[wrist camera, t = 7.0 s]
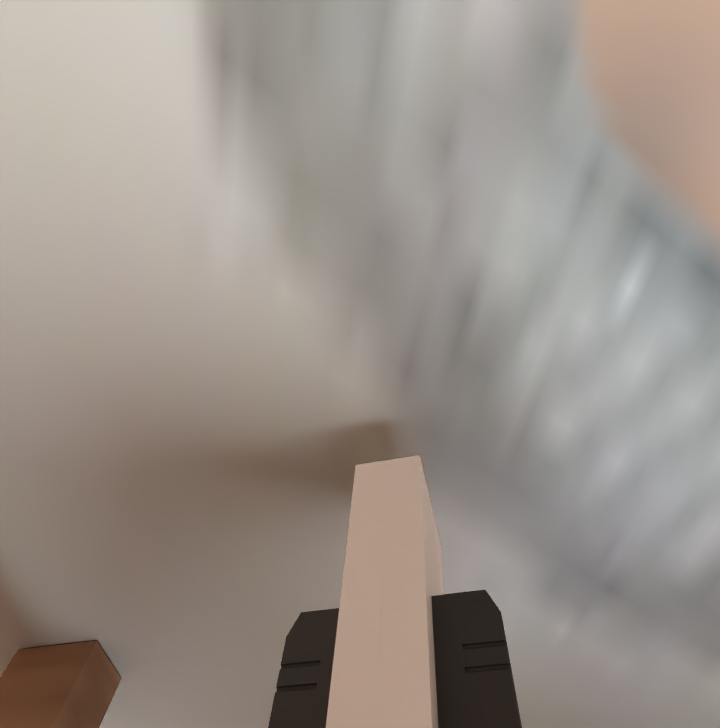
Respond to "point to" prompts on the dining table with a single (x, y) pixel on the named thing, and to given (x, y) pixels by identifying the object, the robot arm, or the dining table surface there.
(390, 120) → the dining table surface
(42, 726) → the bridge
